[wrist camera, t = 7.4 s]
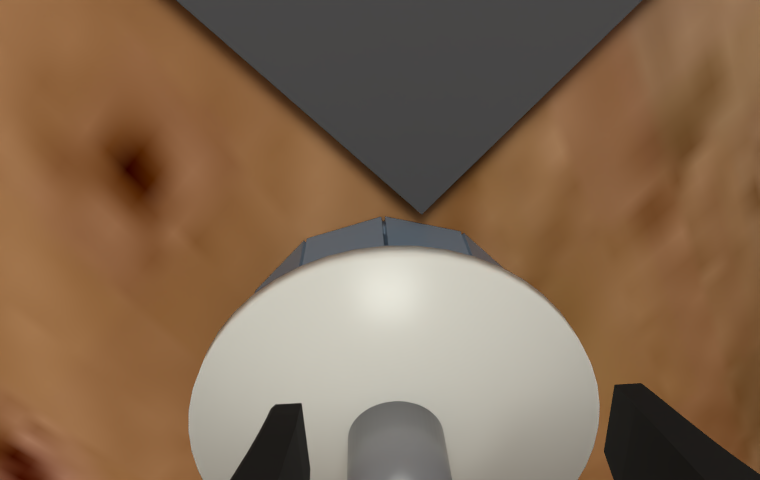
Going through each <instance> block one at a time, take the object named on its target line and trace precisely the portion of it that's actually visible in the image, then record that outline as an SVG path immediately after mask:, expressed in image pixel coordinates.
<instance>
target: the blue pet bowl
mask: <svg viewBox="0 0 760 480" xmlns="http://www.w3.org/2000/svg"><path fill="white" fill-rule="evenodd" d="M379 246H422V247H431V248H439V249H446V250H450V251H454V252H459V253H463V254H467V255H471V256H474V257H477V258H479V259H482V260H485V261H487V262H490V263H492V264H495V265H498V266H500V265H499V264H498V263H497V262H496V261H495V260H494V259H493V258H491V257H490V256H489V255H488V254H487V253H486V252H485V251H483V250H482V249H481V248H480V247H479V246H478V245H477V244H476V243H474V242H473V241H472V240H471V239H470V238H469V237H468V236H467V235H465V234H461V232H460V231H456V230H451V229H445V228H440V227H435V226H430V225H425V224H420V223H415V222H410V221H405V220H400V219H395V218H390V217H385V220H384V221H382V218H381V217H379V218H375V219H372V220H368V221H365V222H362V223H358V224H355V225H352V226H348V227H345V228H341V229H338V230H335V231H331V232H328V233H324V234H321V235H318V236H314V237H311V238H307V241H306V242H305V241H303V242H302V243H301V244H300V245H299V246H298V247H297V248H296V249H295V250H294V251H293V252H292V253H291V254H290V255H289V256H288V257H287V258H286V260H285V261H284V262H283V263H282V264H281V265H280V266H279V267H278V268H277V269H276V270H275V271H274V272H273V273H272V274H271V275H270V276H269V277H268V278H267V279H266V280H265V281H264V282H263V283H262V284H261V286H260V287H259V288H258V289H257V290H256V291H255V293H256V292H258V291H259V290H260V289H262V288H263V287H265V286H266V285H268V284H269V283H270V282H272V281H273V280H275V279H277V278H279V277H280V276H282V275H284V274H286V273H288V272H290V271H292V270H294V269H296V268H298V267H300V266H302V265H305V264H308V263H310V262H313V261H316V260H318V259H321V258H324V257H326V256H330V255H334V254H338V253H343V252H347V251H351V250H355V249H362V248H371V247H379ZM500 267H502V266H500ZM502 268H503V267H502Z"/></svg>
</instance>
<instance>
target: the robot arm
mask: <svg viewBox="0 0 760 480" xmlns="http://www.w3.org/2000/svg"><path fill="white" fill-rule="evenodd" d="M604 453H605V456H606V459H607V462H608V465H609V467H610V470H611V473H612V476H613V479H614V480H760V474H758V473H757V472H756V471H754V470H753V469H751V468H750V467H748V466H747V465H746V464H744V463H743V462H741V461H740V460H739V459H737V458H736V457H734V456H733V455H732V454H730V453H729V452H728V451H726V450H725V449H724V448H722V447H721V446H720V445H718V444H717V443H716V442H714V441H713V440H712V439H711V438H709V437H708V436H707V435H705V434H704V433H703V432H702V431H700V430H699V429H698V428H696V427H695V426H694V425H693V424H691V423H690V422H689V421H688V420H686V419H685V418H684V417H683V416H681V415H680V414H679V413H678V412H677V411H675V410H674V409H673V408H672V407H670V406H669V405H668V404H667V403H665V402H664V401H663V400H662V399H660V398H659V397H658V396H657V395H655V394H654V393H653V392H652V391H650V390H649V389H648V388H647V387H645V386H644V385H643V384H641V383H637V384H620V385H615V386H614V392H613V398H612V405H611V411H610V417H609V423H608V430H607V436H606V442H605V448H604ZM230 480H310V462H309V455H308V447H307V440H306V432H305V425H304V417H303V409H302V403H291V404H275V405H274V406H273V407H272V408H271V409H270V411H269V413H268V416H267V418H266V420H265V421H264V423H263V425H262V427H261V429H260V431H259V433H258V435H257V436H256V438H255V440H254V442H253V443H252V445H251V447H250V449H249V450H248V452H247V454H246V455H245V457H244V458H243V460H242V462H241V463H240V465H239V466H238V468H237V470H236V471H235V473H234V474H233V476H232V477H231V479H230Z"/></svg>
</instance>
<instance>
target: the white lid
mask: <svg viewBox="0 0 760 480" xmlns="http://www.w3.org/2000/svg"><path fill="white" fill-rule="evenodd" d="M291 403H302V409H303V417H304V425H305V432H306V440H307V447H308V455H309V462H310V480H578V478H579V476H580V475H581V473H582V471H583V469H584V468H585V466H586V464H587V461H588V459H589V457H590V454H591V452H592V449H593V447H594V443H595V438H596V434H597V430H598V423H599V407H600V405H599V396H598V387H597V382H596V379H595V375H594V372H593V368H592V365H591V363H590V361H589V359H588V357H587V354H586V352H585V350H584V348H583V346H582V344H581V343H580V341H579V339H578V337H577V336H576V334H575V332H574V331H573V329H572V328H571V326H570V325H569V323H568V322H567V321H566V319H565V318H564V316H563V315H562V314H561V312H560V311H559V310H558V309H557V308H556V307H555V306H554V305H553V304H552V303H551V302H550V301H549V300H548V299H547V298H546V297H545V296H544V295H543V294H542V293H541V292H539V291H538V290H537V289H535V288H534V287H533V286H531V285H530V284H529V283H527V282H526V281H525V280H523V279H522V278H520V277H518V276H516V275H515V274H513V273H511V272H509V271H507V270H505V269H504V268H502V267H500V266H498V265H495V264H492V263H490V262H487V261H485V260H482V259H479V258H477V257H474V256H471V255H467V254H463V253H459V252H454V251H450V250H446V249H439V248H431V247H422V246H379V247H371V248H362V249H355V250H351V251H347V252H343V253H338V254H334V255H330V256H326V257H324V258H321V259H318V260H316V261H313V262H310V263H308V264H305V265H302V266H300V267H298V268H296V269H294V270H292V271H290V272H288V273H286V274H284V275H282V276H280V277H279V278H277V279H275V280H273V281H272V282H270V283H269V284H268V285H266V286H265V287H263V288H262V289H260V290H259V291H258V292H256V293H255V294H253V295H252V296H251V297H250V298H249V299H248V300H247V301H246V302H245V303H243V304H242V305H241V306H240V307H239V308H238V309H237V310H236V311H235V312H234V313H233V314H232V315H231V317H230V318H229V319H228V320H227V322H226V323H225V324H224V325H223V327H222V328H221V329H220V330H219V332H218V333H217V335H216V337H215V338H214V340H213V342H212V344H211V345H210V347H209V349H208V351H207V353H206V355H205V358H204V361H203V363H202V366H201V369H200V371H199V374H198V377H197V379H196V382H195V385H194V387H193V391H192V396H191V401H190V407H189V437H190V443H191V449H192V453H193V456H194V459H195V462H196V465H197V468H198V471H199V473H200V475H201V477H202V479H203V480H230V479H231V477H232V476H233V474H234V473H235V471H236V470H237V468H238V466H239V465H240V463H241V462H242V460H243V458H244V457H245V455H246V454H247V452H248V450H249V449H250V447H251V445H252V443H253V442H254V440H255V438H256V436H257V435H258V433H259V431H260V429H261V427H262V425H263V423H264V421H265V420H266V418H267V416H268V413H269V411H270V409H271V408H272V407H273V406H274V405H275V404H291Z"/></svg>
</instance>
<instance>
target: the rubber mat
mask: <svg viewBox="0 0 760 480" xmlns="http://www.w3.org/2000/svg"><path fill="white" fill-rule="evenodd" d="M176 1H178V2H179V3H180V4H181V5H182V6H183V7H185V8H186V9H187V10H188V11H189V12H190V13H191V14H193V15H194V16H195V17H196V18H197V19H198V20H199V21H201V22H202V23H203V24H204V25H205V26H206V27H207V28H209V29H210V30H211V31H212V32H213V33H214V34H215V35H217V36H218V37H219V38H220V39H221V40H222V41H224V42H225V43H226V44H227V45H228V46H229V47H230V48H232V49H233V50H234V51H235V52H236V53H237V54H238V55H240V56H241V57H242V58H243V59H244V60H245V61H246V62H248V63H249V64H250V65H251V66H252V67H253V68H254V69H256V70H257V71H258V72H259V73H260V74H261V75H262V76H264V77H265V78H266V79H267V80H268V81H269V82H271V83H272V84H273V85H274V86H275V87H276V88H277V89H279V90H280V91H281V92H282V93H283V94H284V95H285V96H287V97H288V98H289V99H290V100H291V101H292V102H293V103H295V104H296V105H297V106H298V107H299V108H300V109H301V110H303V111H304V112H305V113H306V114H307V115H308V116H309V117H311V118H312V119H313V120H314V121H315V122H316V123H318V124H319V125H320V126H321V127H322V128H323V129H324V130H326V131H327V132H328V133H329V134H330V135H331V136H332V137H334V138H335V139H336V140H337V141H338V142H339V143H340V144H342V145H343V146H344V147H345V148H346V149H347V150H348V151H350V152H351V153H352V154H353V155H354V156H355V157H356V158H358V159H359V160H360V161H361V162H362V163H363V164H365V165H366V166H367V167H368V168H369V169H370V170H371V171H373V172H374V173H375V174H376V175H377V176H378V177H379V178H381V179H382V180H383V181H384V182H385V183H386V184H387V185H389V186H390V187H391V188H392V189H393V190H394V191H395V192H397V193H398V194H399V195H400V196H401V197H402V198H403V199H405V200H406V201H407V202H408V203H409V204H410V205H412V206H413V207H414V208H415V209H416V210H417V211H418V212H420V213H421V214H423V213H424V212H425V211H426V210H427V209H428V208H429V207H430V206H431V205H432V204H433V203H434V202H435V201H436V200H437V199H438V198H439V197H440V196H441V195H442V194H443V193H444V192H445V191H446V190H447V189H448V188H449V187H451V186H452V185H453V184H454V183H455V182H456V181H457V180H458V179H459V178H460V177H461V176H462V175H463V174H464V173H465V172H466V171H467V170H468V169H469V168H470V167H471V166H472V165H473V164H474V163H475V162H476V161H477V160H478V159H479V158H480V157H481V156H482V155H483V154H484V153H485V152H487V151H488V150H489V149H490V148H491V147H492V146H493V145H494V144H495V143H496V142H497V141H498V140H499V139H500V138H501V137H502V136H503V135H504V134H505V133H506V132H507V131H508V130H509V129H510V128H511V127H512V126H513V125H514V124H515V123H516V122H517V121H518V120H519V119H520V118H522V117H523V116H524V115H525V114H526V113H527V112H528V111H529V110H530V109H531V108H532V107H533V106H534V105H535V104H536V103H537V102H538V101H539V100H540V99H541V98H542V97H543V96H544V95H545V94H546V93H547V92H548V91H549V90H550V89H551V88H552V87H553V86H554V85H555V84H556V83H558V82H559V81H560V80H561V79H562V78H563V77H564V76H565V75H566V74H567V73H568V72H569V71H570V70H571V69H572V68H573V67H574V66H575V65H576V64H577V63H578V62H579V61H580V60H581V59H582V58H583V57H584V56H585V55H586V54H587V53H588V52H589V51H590V50H591V49H592V48H594V47H595V46H596V45H597V44H598V43H599V42H600V41H601V40H602V39H603V38H604V37H605V36H606V35H607V34H608V33H609V32H610V31H611V30H612V29H613V28H614V27H615V26H616V25H617V24H618V23H619V22H620V21H621V20H622V19H623V18H624V17H625V16H626V15H627V14H629V13H630V12H631V11H632V10H633V9H634V8H635V7H636V6H637V5H638V4H639V3H640V2H641V1H642V0H176Z"/></svg>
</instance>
